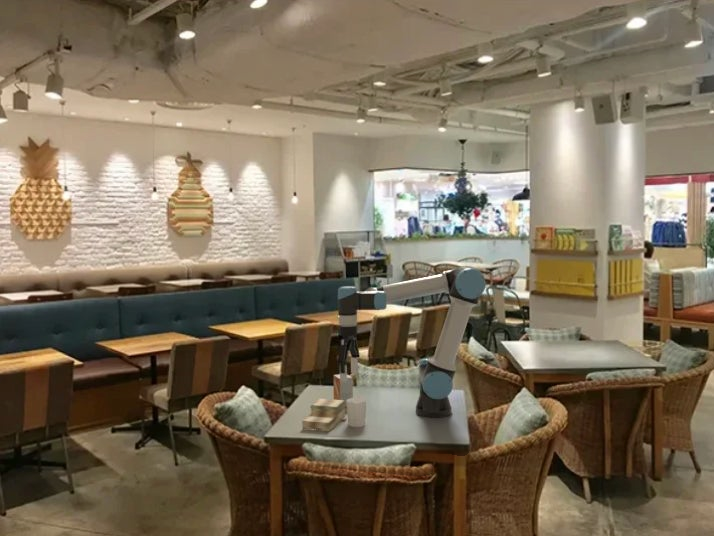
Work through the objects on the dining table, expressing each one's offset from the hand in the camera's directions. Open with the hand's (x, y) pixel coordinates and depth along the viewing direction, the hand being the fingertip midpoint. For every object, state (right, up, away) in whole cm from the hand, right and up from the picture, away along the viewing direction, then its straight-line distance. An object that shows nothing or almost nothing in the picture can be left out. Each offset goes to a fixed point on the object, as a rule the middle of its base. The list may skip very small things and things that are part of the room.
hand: (349, 377), depth 263 cm
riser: (-10, -19, +1) cm, 21 cm away
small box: (-3, -17, +27) cm, 32 cm away
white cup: (+3, -19, -1) cm, 19 cm away
